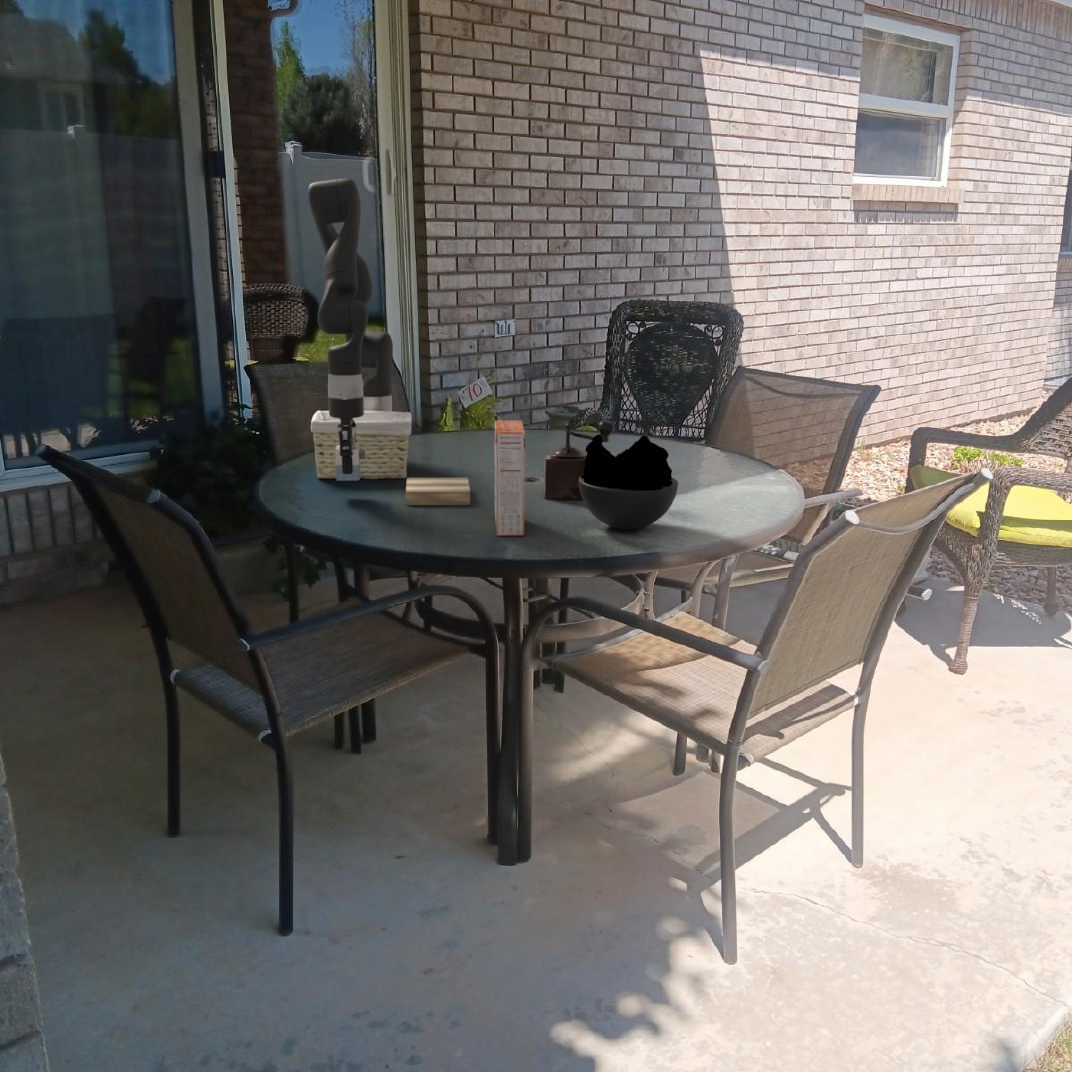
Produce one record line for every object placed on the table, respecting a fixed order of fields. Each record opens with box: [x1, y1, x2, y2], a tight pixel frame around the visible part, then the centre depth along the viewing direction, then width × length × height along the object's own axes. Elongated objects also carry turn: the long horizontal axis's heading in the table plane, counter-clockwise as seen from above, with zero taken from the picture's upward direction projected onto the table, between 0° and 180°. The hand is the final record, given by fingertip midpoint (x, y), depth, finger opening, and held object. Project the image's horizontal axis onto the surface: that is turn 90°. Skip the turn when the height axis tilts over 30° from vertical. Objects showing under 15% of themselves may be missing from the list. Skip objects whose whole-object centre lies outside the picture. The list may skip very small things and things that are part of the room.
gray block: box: [335, 445, 365, 482], centre depth 227 cm, size 5×6×7 cm
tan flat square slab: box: [405, 477, 471, 506], centre depth 230 cm, size 14×14×3 cm
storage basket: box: [310, 410, 413, 480], centre depth 251 cm, size 24×16×15 cm
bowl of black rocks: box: [579, 434, 679, 531], centre depth 206 cm, size 20×20×19 cm
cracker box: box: [493, 419, 526, 537], centre depth 204 cm, size 14×6×21 cm, turn 3°
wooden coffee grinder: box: [542, 420, 616, 501], centre depth 233 cm, size 16×11×18 cm
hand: (348, 470), depth 227 cm, fingers closed on gray block, 5 cm apart
